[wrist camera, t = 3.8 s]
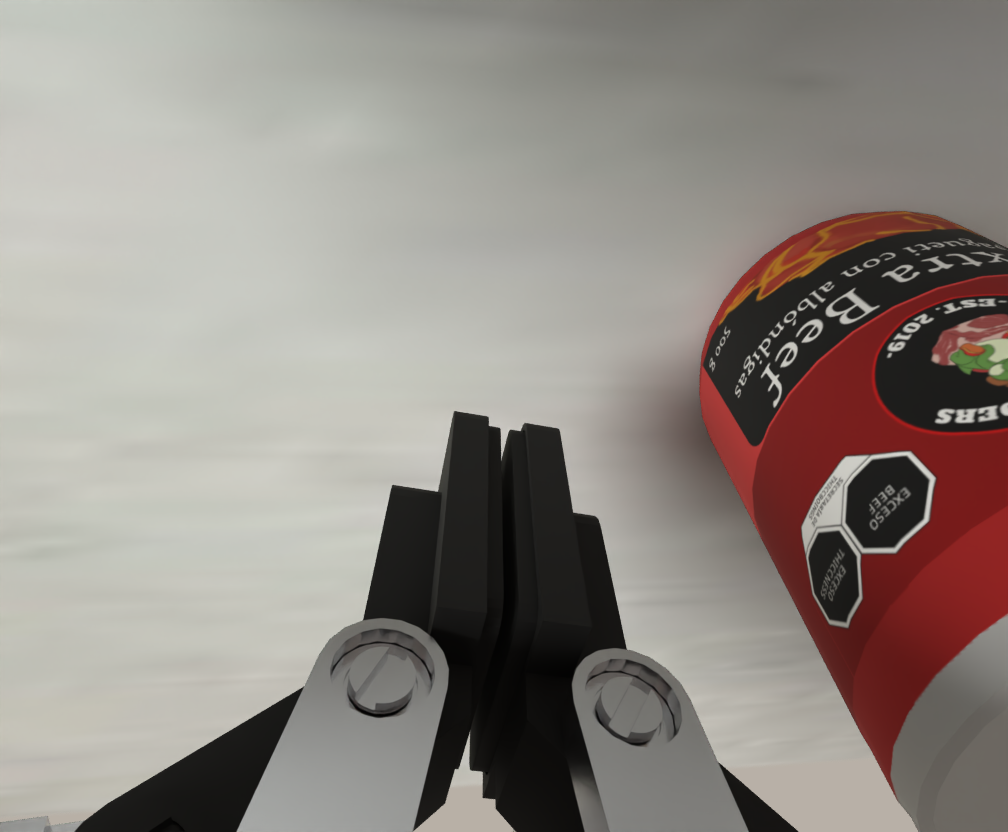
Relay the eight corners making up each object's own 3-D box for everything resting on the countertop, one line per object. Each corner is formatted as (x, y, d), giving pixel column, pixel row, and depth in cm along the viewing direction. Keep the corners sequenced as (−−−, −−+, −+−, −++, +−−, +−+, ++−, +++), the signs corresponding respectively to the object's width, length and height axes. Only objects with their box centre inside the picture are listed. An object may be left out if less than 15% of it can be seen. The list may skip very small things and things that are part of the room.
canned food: (975, 141, 15) (1809, 398, 6) (993, 411, 19) (1492, 821, 10) (648, 283, 16) (874, 669, 7) (730, 505, 20) (941, 935, 11)
